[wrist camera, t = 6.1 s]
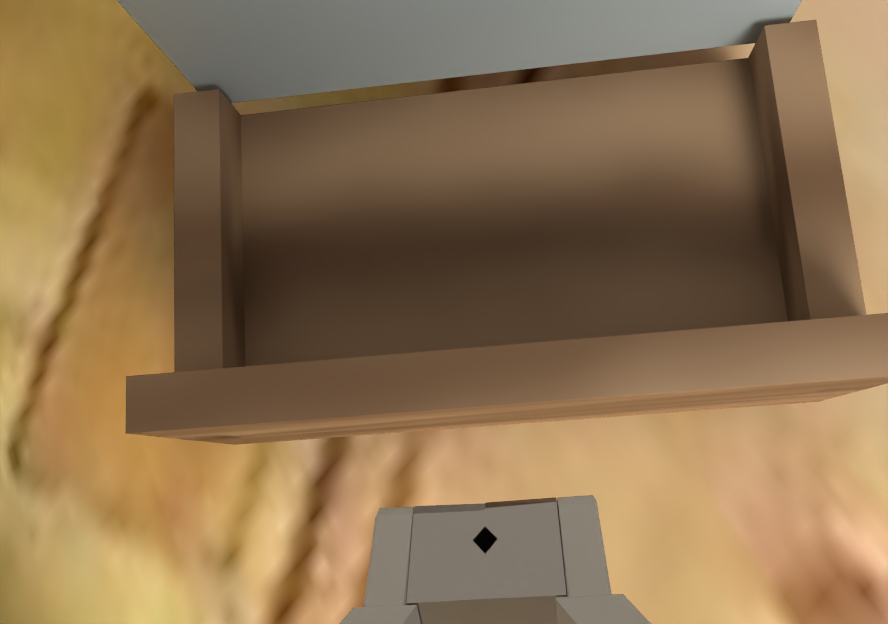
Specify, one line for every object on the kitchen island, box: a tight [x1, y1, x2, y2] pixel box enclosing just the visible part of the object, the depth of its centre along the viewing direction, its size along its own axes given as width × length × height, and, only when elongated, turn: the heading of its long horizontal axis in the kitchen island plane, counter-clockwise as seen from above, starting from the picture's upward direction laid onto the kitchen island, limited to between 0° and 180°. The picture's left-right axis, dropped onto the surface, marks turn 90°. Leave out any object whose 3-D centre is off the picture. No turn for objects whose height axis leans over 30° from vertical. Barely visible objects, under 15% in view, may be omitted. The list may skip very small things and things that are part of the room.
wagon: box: [126, 20, 888, 445], centre depth 27 cm, size 11×20×10 cm, turn 94°
